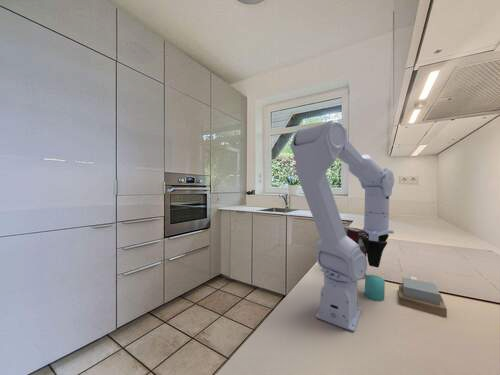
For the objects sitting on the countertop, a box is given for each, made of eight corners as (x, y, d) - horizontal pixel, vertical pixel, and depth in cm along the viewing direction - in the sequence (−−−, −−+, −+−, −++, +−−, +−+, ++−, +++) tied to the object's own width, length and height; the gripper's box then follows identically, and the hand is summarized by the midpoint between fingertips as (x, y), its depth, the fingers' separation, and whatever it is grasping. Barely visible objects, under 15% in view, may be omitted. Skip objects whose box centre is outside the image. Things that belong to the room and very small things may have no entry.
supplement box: (335, 270, 75) (336, 226, 75) (345, 268, 77) (346, 225, 77) (356, 280, 67) (357, 231, 67) (366, 278, 69) (368, 230, 69)
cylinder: (383, 303, 54) (384, 283, 54) (363, 297, 57) (364, 279, 57) (384, 295, 58) (385, 277, 58) (365, 290, 61) (366, 273, 61)
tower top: (439, 305, 50) (440, 294, 50) (403, 296, 54) (404, 286, 54) (434, 293, 56) (434, 283, 56) (402, 285, 60) (402, 277, 60)
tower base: (446, 319, 49) (446, 309, 49) (399, 306, 54) (399, 296, 54) (440, 302, 56) (440, 293, 56) (398, 292, 61) (398, 284, 61)
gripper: (393, 216, 49) (392, 274, 49) (394, 211, 61) (393, 258, 61) (359, 214, 53) (358, 267, 53) (366, 209, 65) (365, 253, 65)
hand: (375, 262), depth 57 cm, fingers open, 7 cm apart
